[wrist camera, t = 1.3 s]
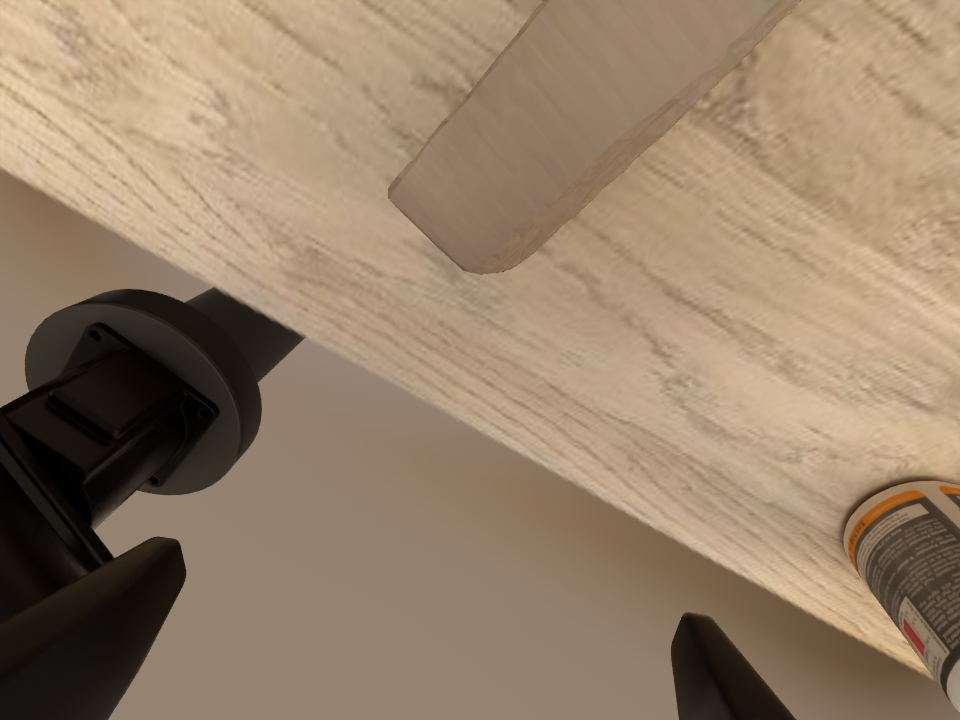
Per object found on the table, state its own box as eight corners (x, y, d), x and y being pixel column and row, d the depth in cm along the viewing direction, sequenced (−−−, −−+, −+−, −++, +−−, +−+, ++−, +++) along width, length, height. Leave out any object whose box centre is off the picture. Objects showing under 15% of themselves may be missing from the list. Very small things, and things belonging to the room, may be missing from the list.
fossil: (735, -192, 14) (1065, -713, 5) (814, -80, 14) (1214, -366, 6) (442, 161, 18) (355, 203, 10) (514, 232, 19) (492, 328, 10)
